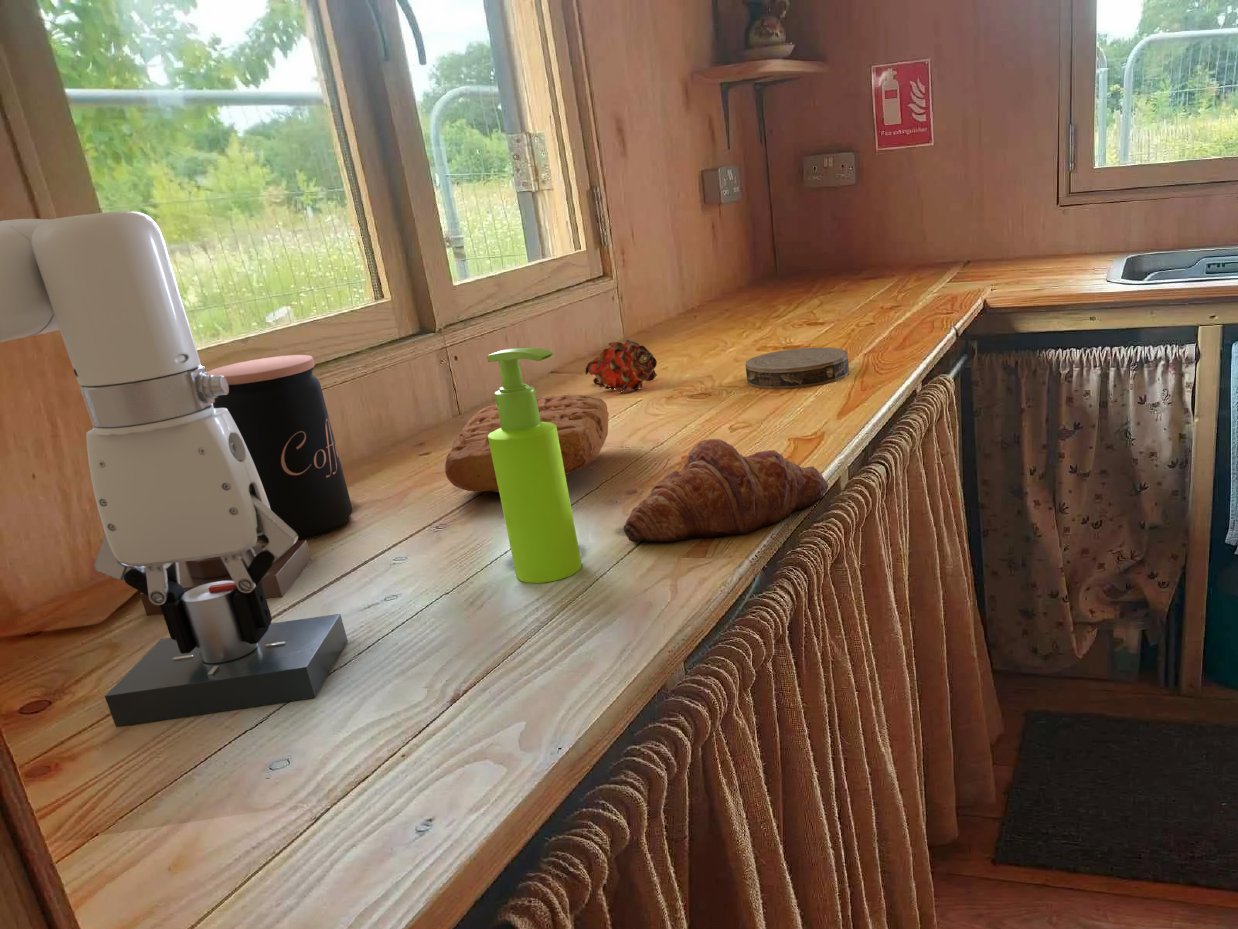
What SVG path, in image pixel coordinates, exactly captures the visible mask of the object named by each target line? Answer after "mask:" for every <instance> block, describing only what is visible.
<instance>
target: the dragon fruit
mask: <svg viewBox="0 0 1238 929" xmlns="http://www.w3.org/2000/svg"><path fill="white" fill-rule="evenodd" d="M624 341H625V343H622V342H621V341H615V342H614V341H613V342H612V341H611V342H608V346H610V347H608V348H604V349H603V350H602V352H601V353H600V354H599V356H597V357H595V358H594V359H592V360H591V361H589V362H588V363H587V365H586V367H585V370H584V371H583V373H585V375H588V374H589V375H591V376H593V375H594V376H595V377H594V378H593V379H592V382H593V384H594V385H595V386H598V387H599V388H604V389H605V390H613V389H614V388H615V389H616V391H615V392H616V393H618V392H621V391H623V390H624V391H625V390H626V389H627V388H630V389H631V390H632V391H636V390H635V389H639V388H642V389H643V382H652V381H653V380H655V379H656V377H657V376H658V374H657V372H656V371H655V368H656V367H657V363H658V361H657V359H656V358H655V357H654V354H653V353H652V352H651V351H650V350H649V349H648V348H646V346H644V345H641V344H639V343H638V342H636V341H634V340H632V339H629V338H627V339H625V338H624ZM609 388H611V389H609ZM624 391H623V392H624ZM621 393H622V392H621Z"/></svg>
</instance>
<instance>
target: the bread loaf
mask: <svg viewBox="0 0 1238 929" xmlns="http://www.w3.org/2000/svg"><path fill="white" fill-rule="evenodd" d="M536 399H537V405H538V410H539V415H540V421H541V422H550V423H554V424H555V425H556V427H557V432H558V438H559V443H560V449H561V454H562V460H563V465H564V471H565V475H568V474H570V473H573V472H576V471H578V470H580V469H584V468H586V467H587V466H589V465H590V464H591V462H592V461H594V460H595V459H596V458H597V457H598V455H599V454H600V451H601V450H602V448H603V446H604V444H605V442H606V440H607V437H608V434H609V415H610V414H609V410H608V405H607V403H606V402H605V401H604V400H603V399H602V398H600V397H597V396H595V395H591V394H573V393H572V394H564V395H551V396H545V397H544V396H543V397H542V396H540V397H539V396H538V397H536ZM499 428H501V424H500V419H499V414H498V409H497V404H496V403H495V404H493V405H489V406H485V407H484V408H481V409H479V410H478V411H477V412H476V413H475V414H474V415H473V416H472V417H470V418H469V420H468V421H467V423H466V424H465V425H464V426H463V427H462V429H461V431H460V432H459V433H458V434H457V436H456V438H455V439H454V441H453V444H452V447H451V449H450V451H449V453H448V454H447V455H446V459H445V463H444V467H445V468H444V469H445V471H444V472H445V476H446V478H447V480H448V481H449V482H450V483H451V484H452V485H453V486H454V487H456V488H459V489H460V490H465V491H467V492H476V493H477V492H482V493H483V492H493V493H499V489H498V484H497V479H496V474H495V469H494V464H493V460H492V455H491V450H490V445H489V440H488V435H489V434H490V433H491V432H493V431H495V430H497V429H499Z"/></svg>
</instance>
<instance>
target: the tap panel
mask: <svg viewBox="0 0 1238 929" xmlns="http://www.w3.org/2000/svg"><path fill="white" fill-rule="evenodd" d="M348 642H349V640H348V636H347V632H346V629H345V625H344V621H343V618H342V614H341V613H335V614H329V615H322V616H314V617H307V618H306V617H305V618H301V619H300V618H299V619H295V620H294V619H293V620H285V621H279V622H271V624H270V626H269V629H268V631H267V632H266V633H265V634H264V636H263V637H262V638H261V640H260V641H259V642H258V645H257V647H256V649H255V650H253V651H252V652H250V653H249V654H247V655H245V656H242V657H240V658H237V659H234V660H231V661H227V662H221V663H205V662H203V661H202V660H201V659H200V656H199V653H198V650H197V647H195V648H194V649H193V650H192V651H191V652H190V653H185V654H181V652H180V650H179V647H178V644H177V641H176V640H173V639H172V638H171V637H164V638H160V639H159V640H158V641H157V642H156V643H155V644H154V645H153V646H152V647H151V648H150V649H149V650H148V651H147V652H146V653H145V654H144V655H143V657H141V658H140V659H139V660H138V661H137V662H136V663H135V664H134V666H133V667H132V668H130V670H128V672H126V674H124V676H123V677H121V678H120V680H119V681H118V682H117V683H116V684H114V686H113V687H112V688H110V690H109V691H108V692H107V693H106V694H105V695H104V699H105V701H106V704H107V707H108V709H109V713H110V715H111V718H112V720H113V723H114V725H115V727H116V728H117V727H124V726H130V725H138V724H144V723H151V722H158V721H165V720H171V719H179V718H186V717H194V716H200V715H206V714H213V713H221V712H228V711H233V710H240V709H241V710H242V709H247V708H254V707H263V706H268V705H275V704H281V703H282V704H283V703H289V702H295V701H303V700H309V699H315V698H316V697H317V695H318V693H319V691H320V690H321V688H322V687H323V685H324V683H325V682H326V680H327V679H328V676H329V675H330V673H331V671H332V670H333V668H334V667H335V665H336V663H337V661H338V659H339V658H340V656H341V654H342V653H343V651H344V649H345V647H346V646H347V644H348Z"/></svg>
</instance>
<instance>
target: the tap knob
mask: <svg viewBox="0 0 1238 929" xmlns="http://www.w3.org/2000/svg"><path fill="white" fill-rule="evenodd" d="M236 593H237V589H236V585H235V583H234V581H217V582H212V583H208V584H204V585H201V586H198V587H195V588H193V589H191V590H189V591H187V592H185V593H184V594H183V595H182V596H181V601H182V604H183V607H184V610H185V613H186V616H187V619H188V623H189V626H190V629H191V632H192V635H193V638H194V641H195V644H196V647H197V650H198V653H199V656H200V659H201V660H202V661H203V662H205V663H221V662H227V661H231V660H234V659H237V658H240V657H242V656H245V655H247V654H249V653H250V652H252V651H253V650H255V649H256V647H257V645H258V643H256V644H249V643H247V642H246V640H245V637H244V634H243V631H242V628H241V624H240V621H239V618H238V615H237V611H236V608H235V605H234V602H233V596H234V595H235V594H236Z"/></svg>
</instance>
